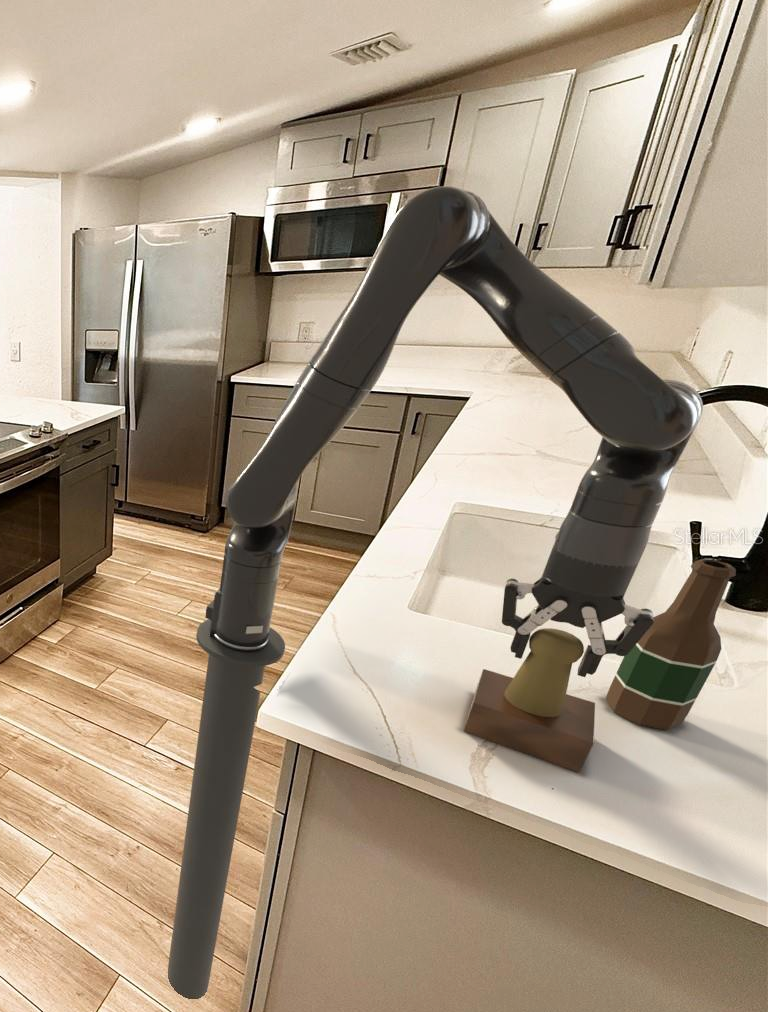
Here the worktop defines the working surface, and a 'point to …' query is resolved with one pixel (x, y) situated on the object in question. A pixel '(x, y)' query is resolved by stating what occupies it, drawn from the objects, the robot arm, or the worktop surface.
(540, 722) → the walnut block
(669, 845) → the worktop surface
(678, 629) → the beer bottle
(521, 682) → the cork
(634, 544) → the robot arm
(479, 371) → the worktop surface
